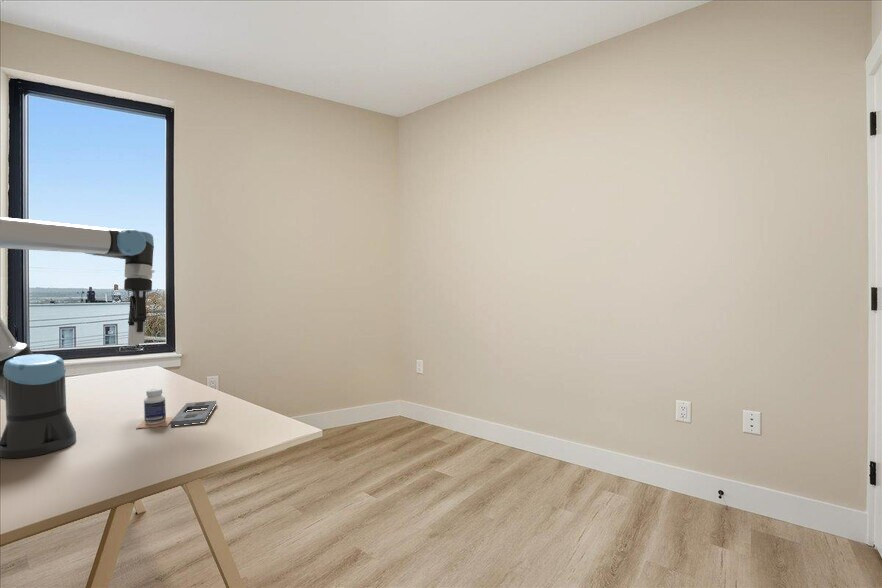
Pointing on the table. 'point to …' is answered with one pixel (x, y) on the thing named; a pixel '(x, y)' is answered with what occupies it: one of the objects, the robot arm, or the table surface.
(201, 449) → the table surface
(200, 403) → the holder
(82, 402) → the table surface
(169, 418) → the coaster
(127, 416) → the table surface
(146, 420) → the pill bottle
